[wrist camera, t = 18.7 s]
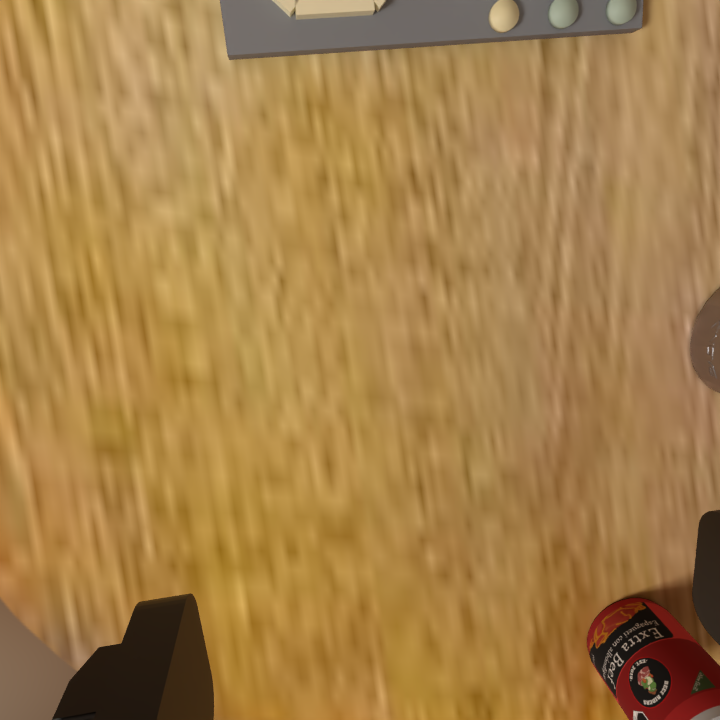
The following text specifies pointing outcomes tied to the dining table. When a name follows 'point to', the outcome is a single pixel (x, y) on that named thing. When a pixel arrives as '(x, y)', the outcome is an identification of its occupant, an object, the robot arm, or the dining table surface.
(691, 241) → the dining table surface
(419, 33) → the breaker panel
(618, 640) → the canned food
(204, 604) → the dining table surface
